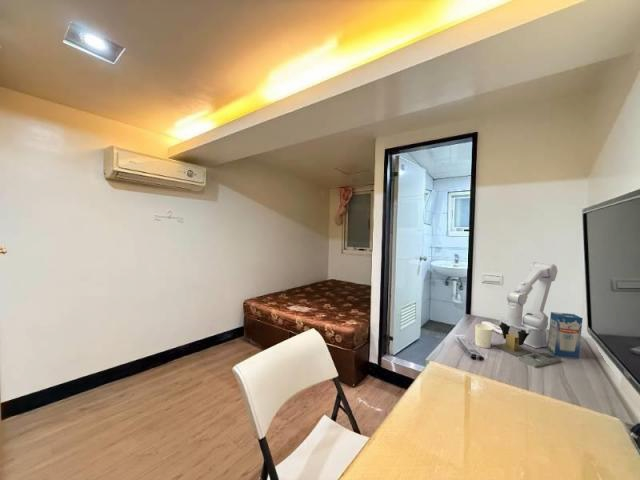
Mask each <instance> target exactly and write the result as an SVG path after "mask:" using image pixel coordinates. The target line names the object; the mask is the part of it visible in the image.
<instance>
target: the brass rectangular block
mask: <svg viewBox="0 0 640 480" xmlns="http://www.w3.org/2000/svg"><path fill="white" fill-rule="evenodd" d="M505 343H506V344H505V348H507V349H510V350H512V351H519V350H520V347H521V345H519V335H517V334H515V333H509V334H506V339H505Z"/></svg>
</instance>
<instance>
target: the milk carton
mask: <svg viewBox="0 0 640 480" xmlns="http://www.w3.org/2000/svg"><path fill="white" fill-rule="evenodd" d="M582 326H583V317H581V316H579V315H576V314H574V313H568V312H567V313H565V312H564V313H563V312H554V311H551V312H550V319H549V329H548V330H549V331H548V342H547V351H548V353H550V354H553V355H555V356H558V357H560V358H561V357H562V358H571V359H578V360H579V358H580V349H581V338H582V329H583V327H582Z"/></svg>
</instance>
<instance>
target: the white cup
mask: <svg viewBox="0 0 640 480" xmlns="http://www.w3.org/2000/svg"><path fill="white" fill-rule="evenodd" d="M474 330H475V331H474V338H475V340H474V341H475V342H474V343H475V345H476V346H477V347H478V348H479V347H480V348H482V349H483V348H484V349H490V348H491V342H492V339H493V331H494V328H493V327H492V326H490V325H487V324H481V323H477V324H475V326H474Z"/></svg>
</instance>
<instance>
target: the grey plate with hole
mask: <svg viewBox="0 0 640 480" xmlns="http://www.w3.org/2000/svg"><path fill="white" fill-rule="evenodd" d="M518 360H519V361H520V362H523V363H525V364H527V365H529V366H531V367H533V368H539V367H542V366H547V365H551V364H556V363H560V362H561V360H562V358H561V356H555V355H553V354H552V353H551V352H549V351H548V352H547V351H545V350H542V351H538V352H533V353H532V354H527V355H522V356H518Z"/></svg>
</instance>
